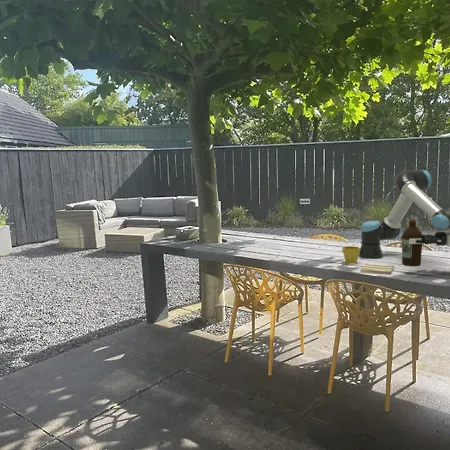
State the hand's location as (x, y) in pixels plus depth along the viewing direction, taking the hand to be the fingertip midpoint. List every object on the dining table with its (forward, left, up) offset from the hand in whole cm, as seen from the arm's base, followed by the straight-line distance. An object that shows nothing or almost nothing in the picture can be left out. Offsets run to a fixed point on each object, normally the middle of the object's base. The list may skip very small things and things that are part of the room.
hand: (404, 239), depth 233 cm
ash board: (-4, -14, -19) cm, 24 cm away
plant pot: (-20, -32, -19) cm, 43 cm away
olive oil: (-2, +3, -14) cm, 15 cm away
